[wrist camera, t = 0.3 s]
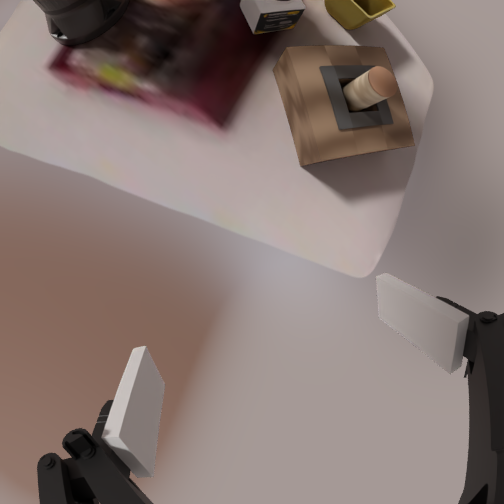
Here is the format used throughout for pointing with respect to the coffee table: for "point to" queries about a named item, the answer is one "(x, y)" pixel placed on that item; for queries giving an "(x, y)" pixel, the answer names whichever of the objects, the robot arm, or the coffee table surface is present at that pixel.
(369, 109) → the socket block
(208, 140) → the coffee table surface
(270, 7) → the medicine bottle
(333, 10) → the flower pot
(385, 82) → the peg
